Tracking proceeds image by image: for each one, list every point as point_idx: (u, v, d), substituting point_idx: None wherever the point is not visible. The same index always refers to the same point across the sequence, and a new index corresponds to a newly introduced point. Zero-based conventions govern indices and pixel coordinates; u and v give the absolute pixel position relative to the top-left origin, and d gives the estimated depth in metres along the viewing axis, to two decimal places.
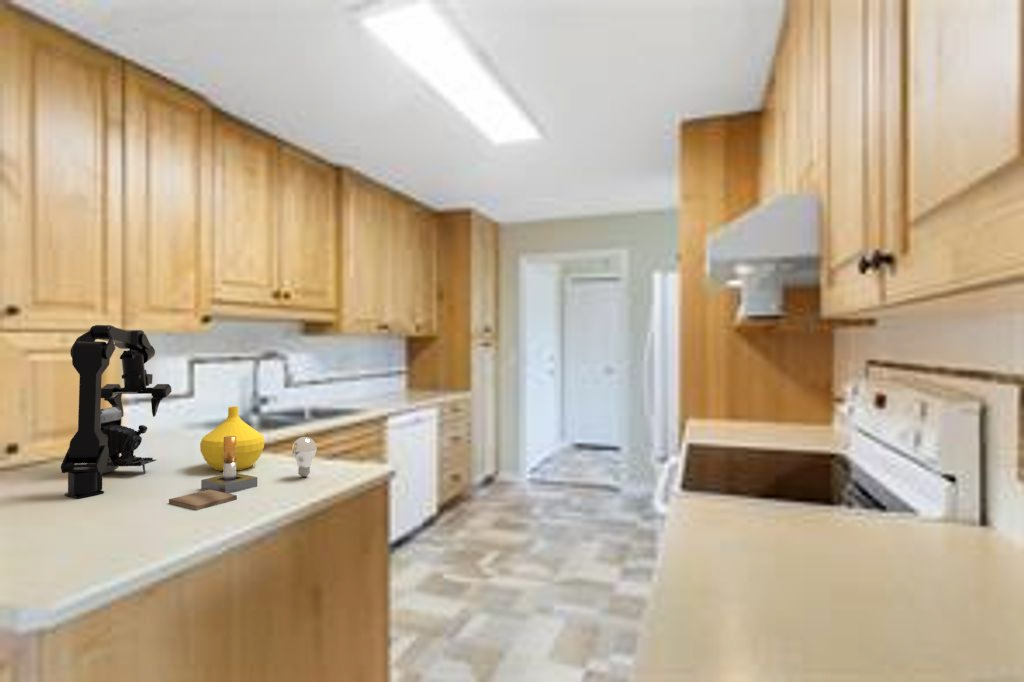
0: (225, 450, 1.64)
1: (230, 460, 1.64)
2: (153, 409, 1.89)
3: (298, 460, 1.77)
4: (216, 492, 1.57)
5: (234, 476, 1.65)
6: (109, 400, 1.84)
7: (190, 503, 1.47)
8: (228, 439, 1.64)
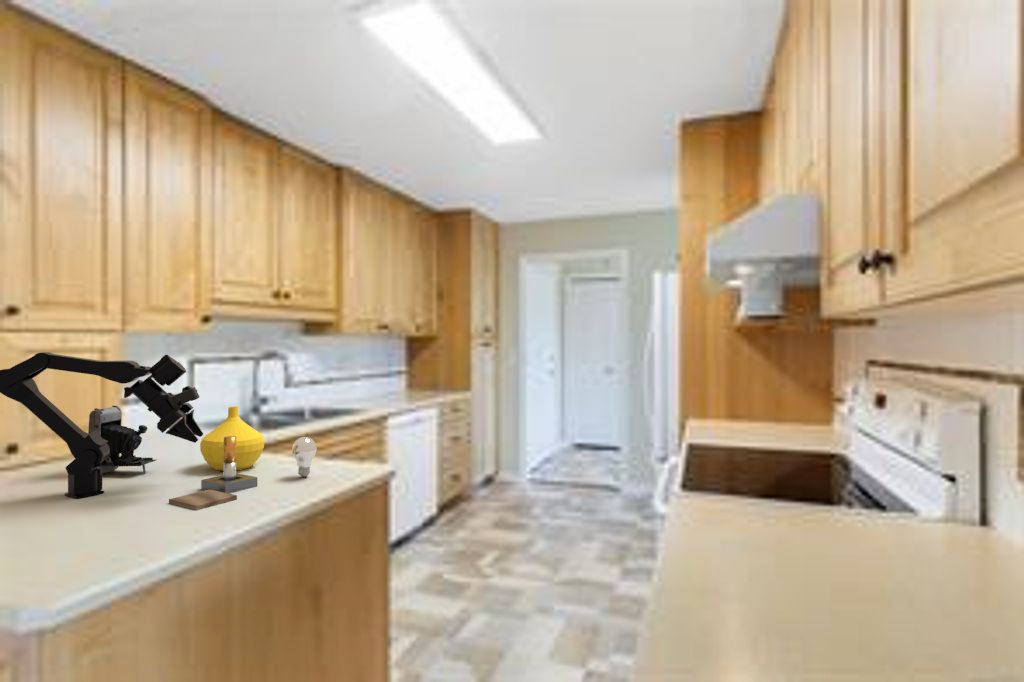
0: (225, 450, 1.64)
1: (230, 460, 1.64)
2: None
3: (298, 460, 1.77)
4: (216, 492, 1.57)
5: (234, 476, 1.65)
6: None
7: (190, 503, 1.47)
8: (228, 439, 1.64)
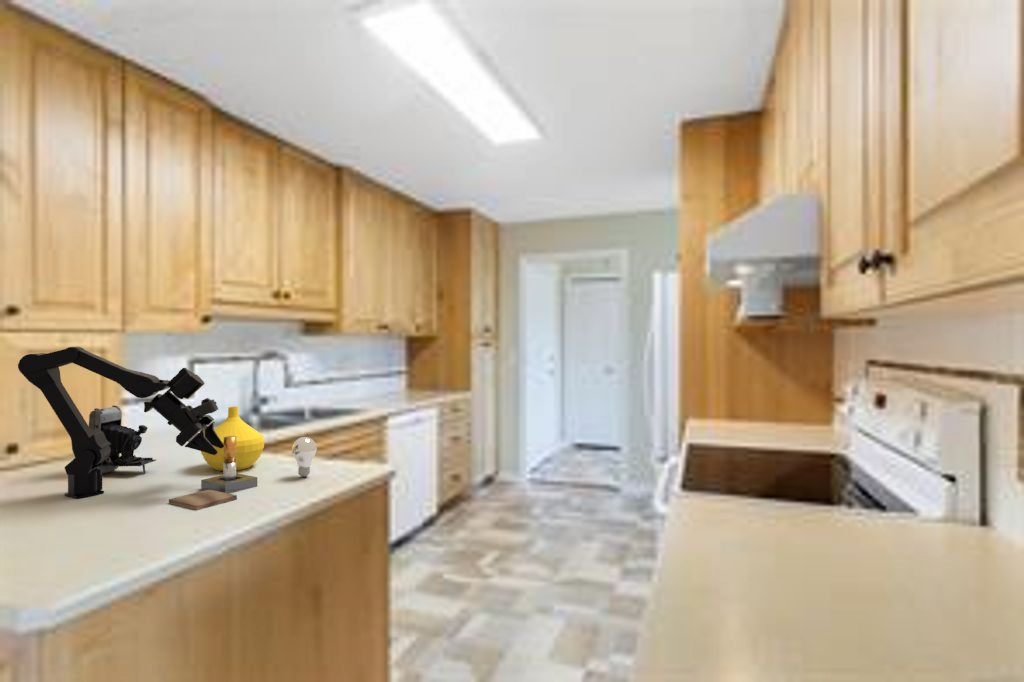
0: (225, 450, 1.64)
1: (230, 460, 1.64)
2: None
3: (298, 460, 1.77)
4: (216, 492, 1.57)
5: (234, 476, 1.65)
6: None
7: (190, 503, 1.47)
8: (228, 439, 1.64)
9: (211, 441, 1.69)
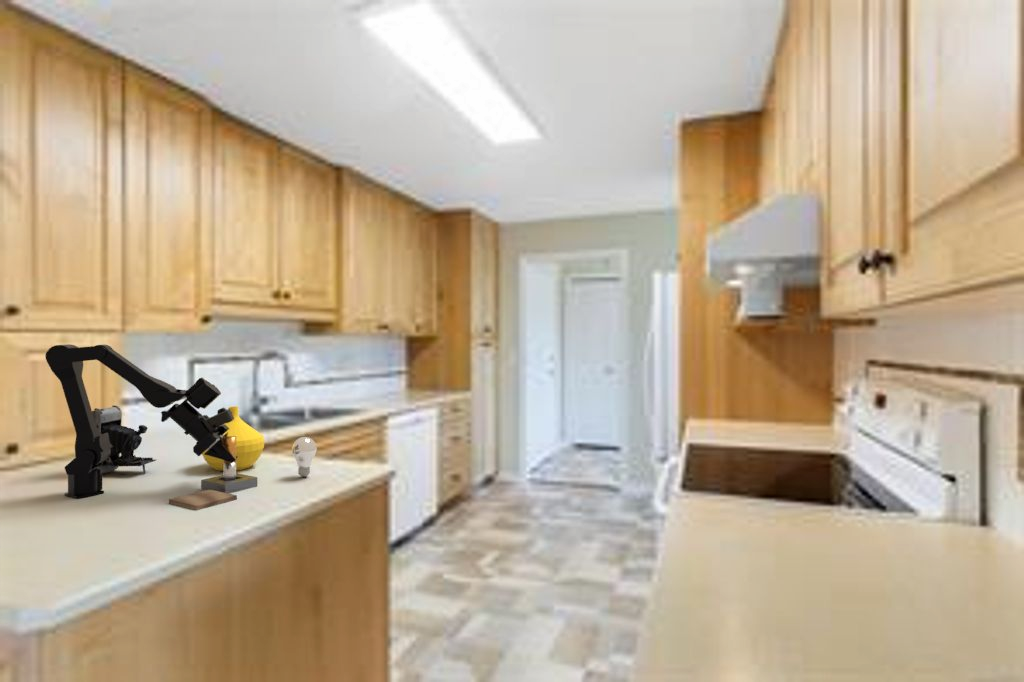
0: None
1: None
2: None
3: (298, 460, 1.77)
4: (216, 492, 1.57)
5: (234, 476, 1.65)
6: None
7: (190, 503, 1.47)
8: (228, 439, 1.64)
9: None
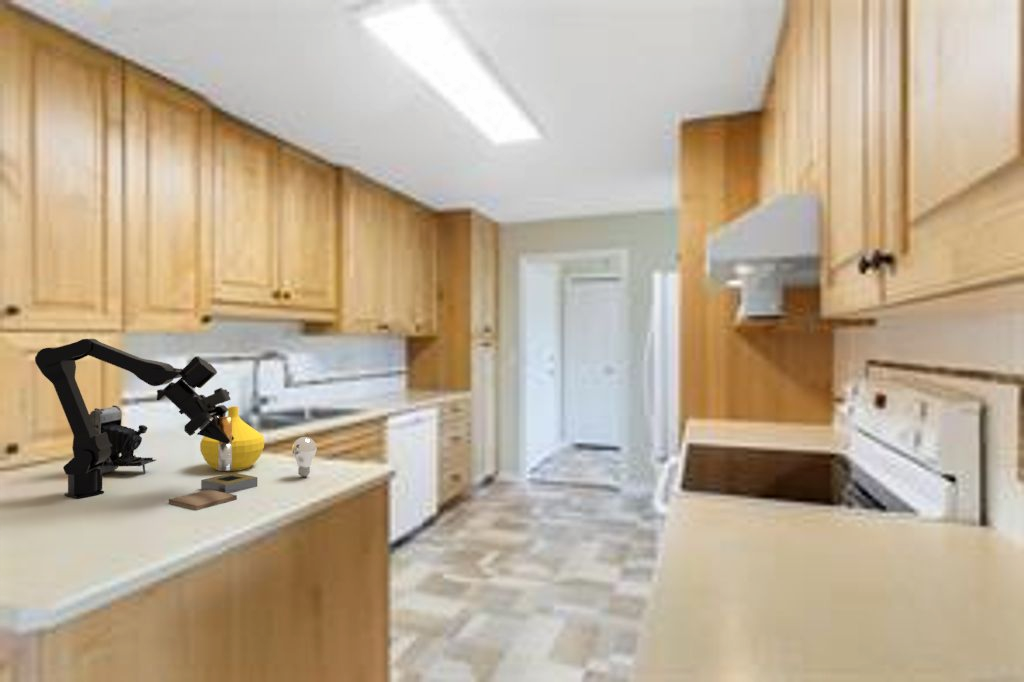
0: None
1: None
2: None
3: (298, 460, 1.77)
4: (216, 492, 1.57)
5: (229, 458, 1.61)
6: None
7: (190, 503, 1.47)
8: (223, 419, 1.60)
9: None
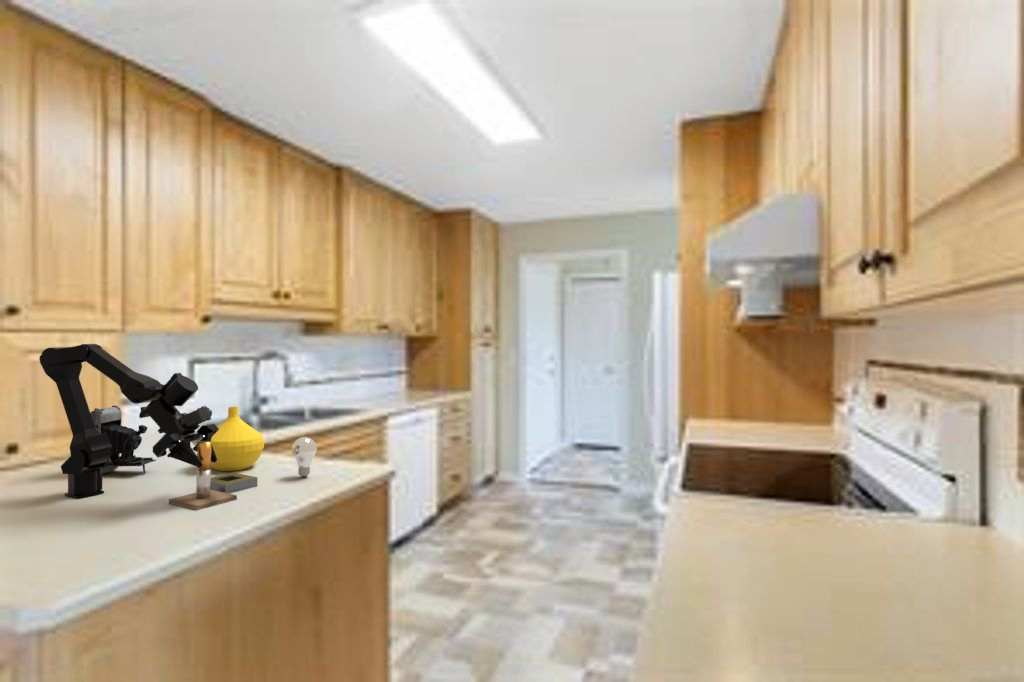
0: None
1: (201, 468, 1.51)
2: None
3: (298, 460, 1.77)
4: (216, 492, 1.57)
5: (206, 485, 1.51)
6: None
7: (190, 503, 1.47)
8: (199, 444, 1.51)
9: None
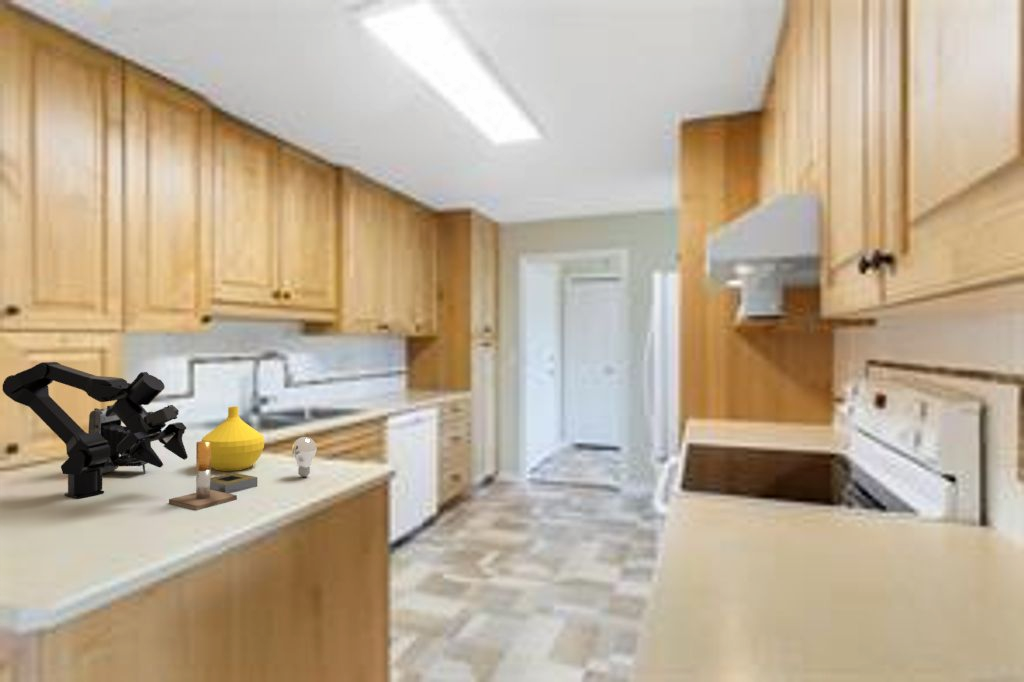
0: (196, 456, 1.51)
1: (200, 468, 1.51)
2: None
3: (298, 460, 1.77)
4: (216, 492, 1.57)
5: (206, 485, 1.51)
6: None
7: (190, 503, 1.47)
8: (199, 444, 1.51)
9: (176, 451, 1.58)
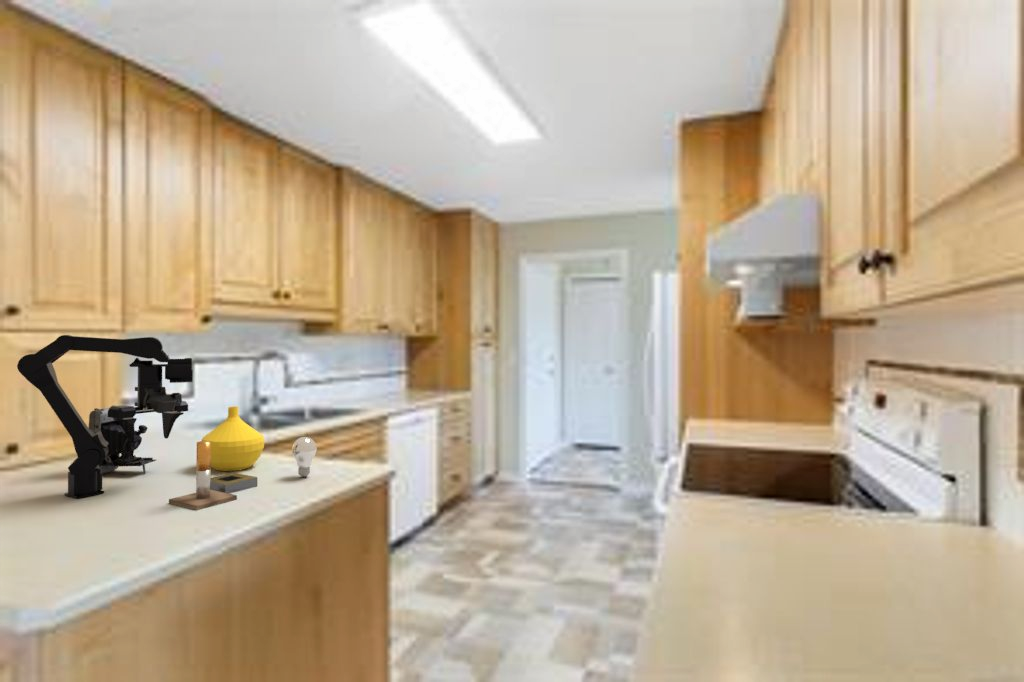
0: (197, 456, 1.51)
1: (200, 468, 1.51)
2: None
3: (298, 460, 1.77)
4: (216, 492, 1.57)
5: (206, 485, 1.51)
6: None
7: (190, 503, 1.47)
8: (199, 444, 1.51)
9: (164, 426, 1.67)
